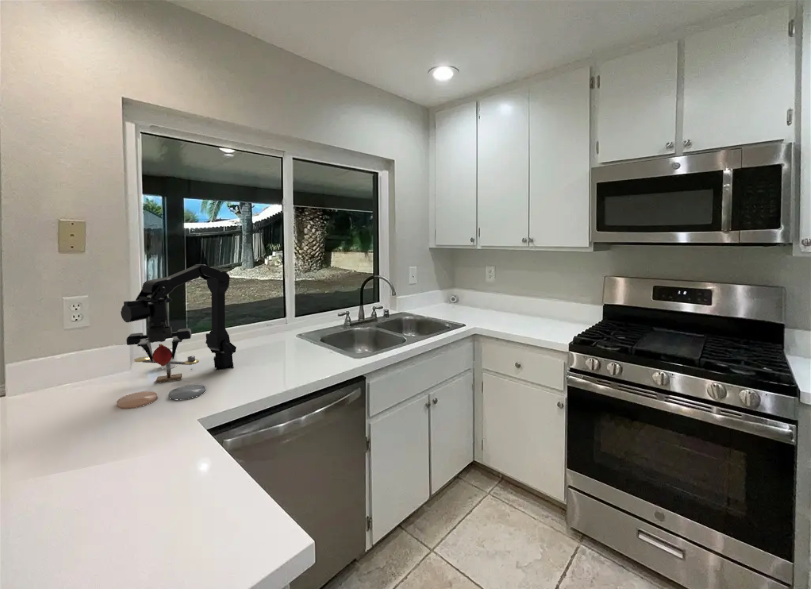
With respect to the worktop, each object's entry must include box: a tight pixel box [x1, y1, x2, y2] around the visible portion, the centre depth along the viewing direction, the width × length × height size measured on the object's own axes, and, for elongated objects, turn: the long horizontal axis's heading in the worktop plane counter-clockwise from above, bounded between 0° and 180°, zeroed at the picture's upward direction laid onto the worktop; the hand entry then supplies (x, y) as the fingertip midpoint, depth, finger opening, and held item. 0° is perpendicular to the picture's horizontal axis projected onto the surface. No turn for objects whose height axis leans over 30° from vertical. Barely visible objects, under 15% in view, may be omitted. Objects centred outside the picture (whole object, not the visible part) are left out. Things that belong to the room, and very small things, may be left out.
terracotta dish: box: [116, 390, 158, 410], centre depth 128 cm, size 11×11×1 cm
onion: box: [152, 343, 172, 367], centre depth 137 cm, size 6×6×8 cm
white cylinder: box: [160, 348, 178, 369], centre depth 162 cm, size 7×7×7 cm
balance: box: [133, 355, 200, 384], centre depth 147 cm, size 21×5×9 cm, turn 114°
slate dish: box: [168, 383, 207, 401], centre depth 134 cm, size 11×11×1 cm
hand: (162, 360), depth 138 cm, fingers closed on onion, 6 cm apart
